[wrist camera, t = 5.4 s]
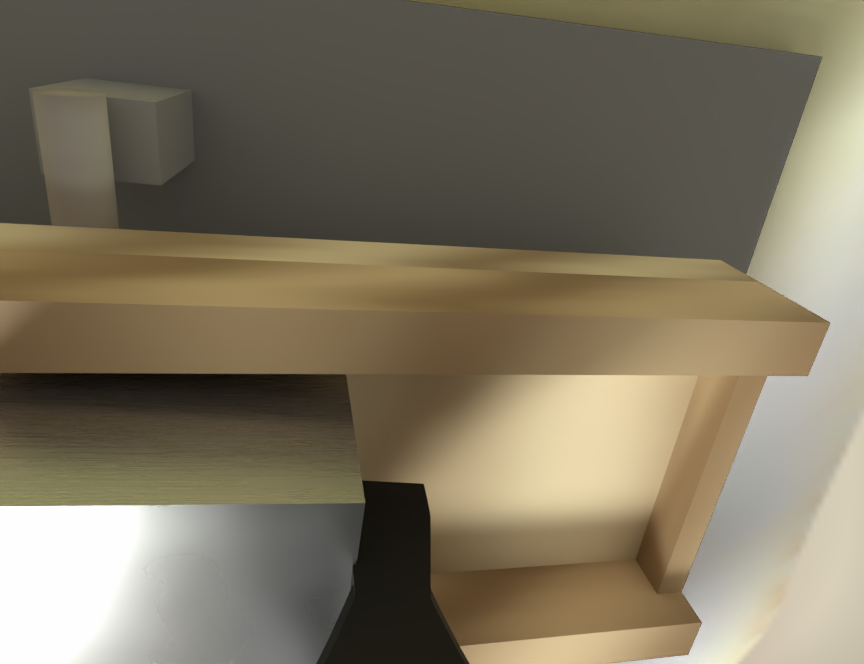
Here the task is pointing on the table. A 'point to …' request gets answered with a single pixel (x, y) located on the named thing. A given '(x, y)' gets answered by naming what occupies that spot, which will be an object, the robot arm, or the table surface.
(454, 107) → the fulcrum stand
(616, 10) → the table surface
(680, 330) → the balance beam
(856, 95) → the table surface
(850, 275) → the table surface
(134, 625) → the steel block
